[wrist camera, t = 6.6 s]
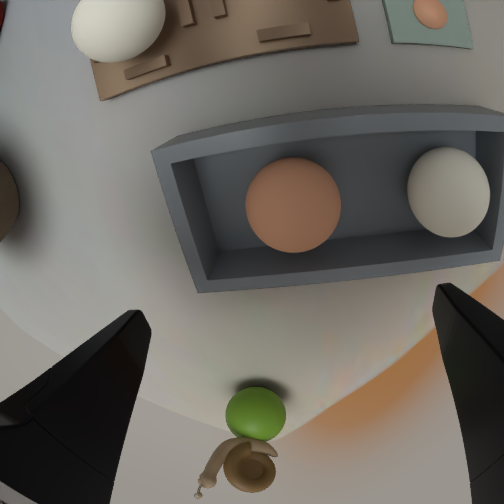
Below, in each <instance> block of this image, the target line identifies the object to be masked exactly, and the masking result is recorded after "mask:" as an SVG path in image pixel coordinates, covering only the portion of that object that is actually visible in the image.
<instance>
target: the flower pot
mask: <svg viewBox="0 0 504 504" xmlns="http://www.w3.org/2000/svg"><path fill="white" fill-rule="evenodd" d="M18 212H19V196H18V191H17V187H16V184H15V181H14V179H13V177H12V175H11V173H10V171H9V170H8V168H7V167H6V166H5V165H4V164H3V163H2V162H1V161H0V242H1V241H2V240H3V238H4V237H5V235H6V234H7V233H8V231H9V230H10V228H11V227H12V226H13V224H14V223H15V221H16V219H17V216H18Z"/></svg>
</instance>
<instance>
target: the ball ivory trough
mask: <svg viewBox="0 0 504 504" xmlns="http://www.w3.org/2000/svg"><path fill="white" fill-rule="evenodd" d="M407 194H408V200H409V204H410V207H411V209H412V211H413V213H414V215H415V217H416V218H417V220H418V221H419V222H420V223H421V224H422V225H423V226H424V227H425V228H426V229H428V230H429V231H431V232H432V233H434V234H437V235H439V236H443V237H459V236H463V235H466V234H468V233H470V232H471V231H473V230H474V229H475V228H476V227H477V226H478V225H479V224H480V223H481V222H482V220H483V219H484V217H485V215H486V213H487V210H488V207H489V201H490V188H489V183H488V180H487V176H486V174H485V172H484V170H483V168H482V167H481V165H480V164H479V163H478V162H477V161H476V160H475V158H473V157H472V156H471V155H470V154H468V153H467V152H465V151H463V150H460V149H458V148H454V147H438V148H434V149H432V150H429V151H428V152H426V153H424V154H423V155H422V156H421V157H420V158H419V159H418V160H417V161H416V163H415V164H414V166H413V167H412V169H411V172H410V175H409V178H408V184H407Z"/></svg>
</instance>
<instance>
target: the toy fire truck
mask: <svg viewBox="0 0 504 504" xmlns="http://www.w3.org/2000/svg"><path fill="white" fill-rule="evenodd" d="M3 18H4V8H3V4H2V2H1V1H0V27H1V25H2V22H3Z"/></svg>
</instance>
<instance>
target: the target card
mask: <svg viewBox="0 0 504 504" xmlns="http://www.w3.org/2000/svg"><path fill="white" fill-rule="evenodd" d="M382 2H383V5H384V9H385V14H386V18H387V22H388V27H389V31H390V36H391V41H392V43H409V44H428V45H440V46H450V47H459V48H467V49H473V43H472V38H471V33H470V28H469V23H468V18H467V14H466V10H465V6H464V2H463V0H382Z"/></svg>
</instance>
